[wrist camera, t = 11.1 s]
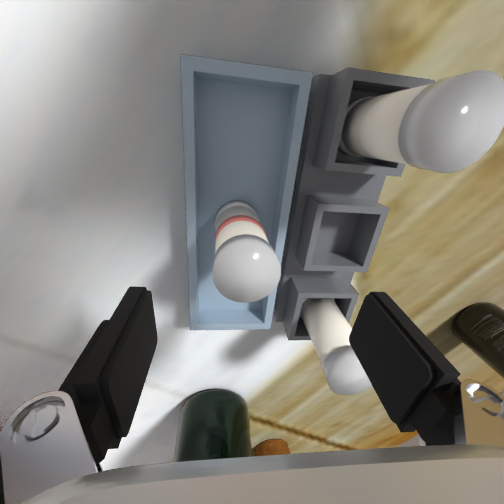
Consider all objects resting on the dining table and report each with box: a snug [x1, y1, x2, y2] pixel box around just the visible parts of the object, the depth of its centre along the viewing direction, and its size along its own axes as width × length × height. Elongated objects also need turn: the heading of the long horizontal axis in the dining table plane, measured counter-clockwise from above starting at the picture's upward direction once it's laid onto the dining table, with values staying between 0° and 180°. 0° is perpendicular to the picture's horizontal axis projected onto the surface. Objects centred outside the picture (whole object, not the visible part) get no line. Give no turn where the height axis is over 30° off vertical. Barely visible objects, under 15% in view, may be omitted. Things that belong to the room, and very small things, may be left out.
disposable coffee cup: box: [255, 439, 290, 456], centre depth 40 cm, size 10×10×12 cm
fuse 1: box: [300, 298, 372, 395], centre depth 23 cm, size 4×4×10 cm
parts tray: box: [180, 54, 313, 330], centre depth 23 cm, size 24×9×3 cm, turn 175°
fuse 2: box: [338, 70, 504, 173], centre depth 15 cm, size 4×4×10 cm
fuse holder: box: [274, 68, 435, 340], centre depth 23 cm, size 25×8×4 cm, turn 175°
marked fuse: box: [213, 200, 281, 303], centre depth 19 cm, size 4×4×10 cm
